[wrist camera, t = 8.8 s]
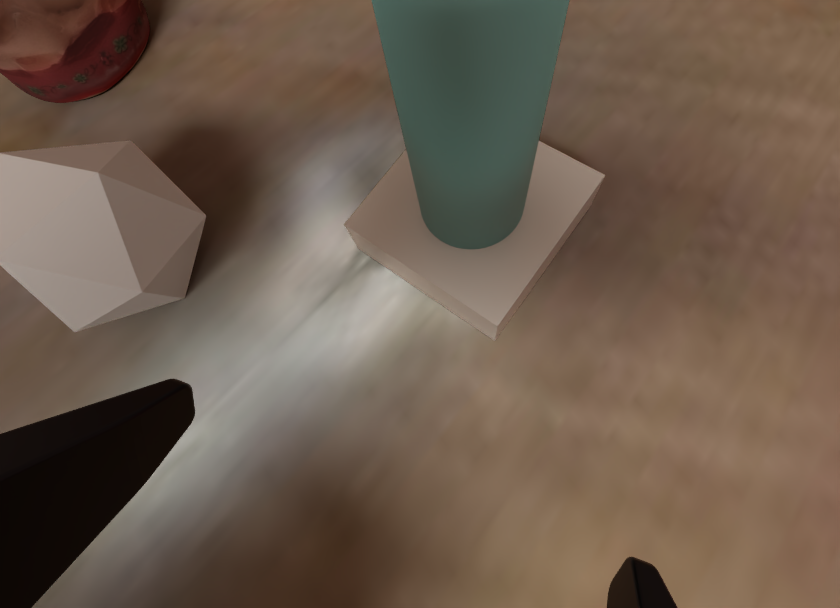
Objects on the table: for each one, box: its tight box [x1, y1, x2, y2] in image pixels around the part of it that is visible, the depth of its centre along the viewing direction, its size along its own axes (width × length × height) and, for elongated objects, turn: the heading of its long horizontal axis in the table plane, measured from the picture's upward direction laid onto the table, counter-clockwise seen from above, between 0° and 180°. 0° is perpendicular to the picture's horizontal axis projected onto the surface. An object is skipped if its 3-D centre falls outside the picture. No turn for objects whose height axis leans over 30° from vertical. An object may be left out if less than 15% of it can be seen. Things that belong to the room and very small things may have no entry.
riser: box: [344, 141, 605, 341], centre depth 24 cm, size 9×9×3 cm
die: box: [0, 140, 206, 332], centre depth 23 cm, size 8×9×10 cm
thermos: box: [372, 0, 569, 249], centre depth 16 cm, size 5×5×13 cm
